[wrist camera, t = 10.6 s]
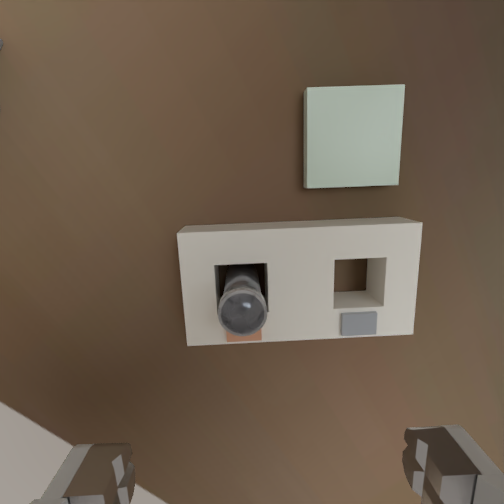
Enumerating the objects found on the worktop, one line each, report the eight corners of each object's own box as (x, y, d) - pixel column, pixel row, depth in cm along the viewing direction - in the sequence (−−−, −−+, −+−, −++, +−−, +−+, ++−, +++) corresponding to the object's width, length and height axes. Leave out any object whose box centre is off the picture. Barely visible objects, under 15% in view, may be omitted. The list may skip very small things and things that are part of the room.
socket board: (398, 216, 30) (425, 223, 26) (392, 315, 32) (415, 336, 28) (185, 225, 29) (175, 233, 25) (193, 325, 32) (186, 348, 27)
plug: (259, 256, 30) (266, 289, 21) (260, 290, 31) (267, 335, 22) (223, 258, 30) (216, 291, 21) (225, 292, 31) (219, 337, 22)
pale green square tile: (396, 89, 27) (405, 84, 26) (390, 184, 29) (398, 184, 28) (303, 92, 27) (307, 87, 26) (303, 187, 29) (307, 188, 27)
